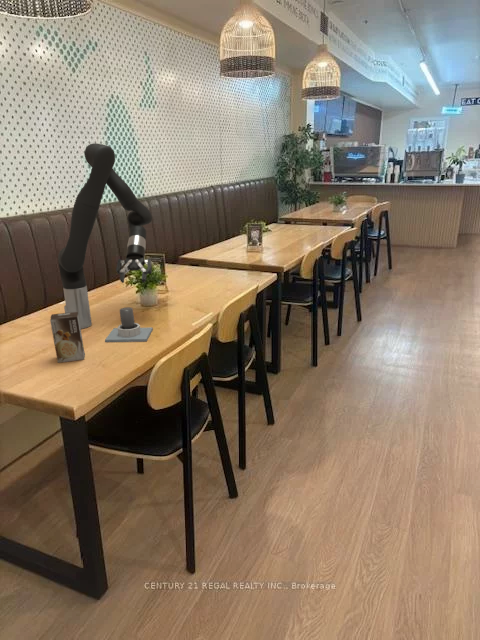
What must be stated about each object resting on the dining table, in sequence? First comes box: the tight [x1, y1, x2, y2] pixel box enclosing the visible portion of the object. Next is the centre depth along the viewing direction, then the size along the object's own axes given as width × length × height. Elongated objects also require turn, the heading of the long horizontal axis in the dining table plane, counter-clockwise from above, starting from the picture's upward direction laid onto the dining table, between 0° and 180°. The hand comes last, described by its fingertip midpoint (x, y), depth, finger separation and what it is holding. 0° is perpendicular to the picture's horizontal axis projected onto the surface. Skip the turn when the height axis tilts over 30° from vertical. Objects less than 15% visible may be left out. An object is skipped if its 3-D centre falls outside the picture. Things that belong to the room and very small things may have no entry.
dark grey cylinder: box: [119, 306, 136, 329], centre depth 182 cm, size 5×5×10 cm
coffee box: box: [49, 312, 86, 364], centre depth 162 cm, size 9×6×16 cm
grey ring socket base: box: [104, 322, 154, 343], centre depth 183 cm, size 16×13×4 cm
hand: (132, 281), depth 189 cm, fingers open, 8 cm apart
